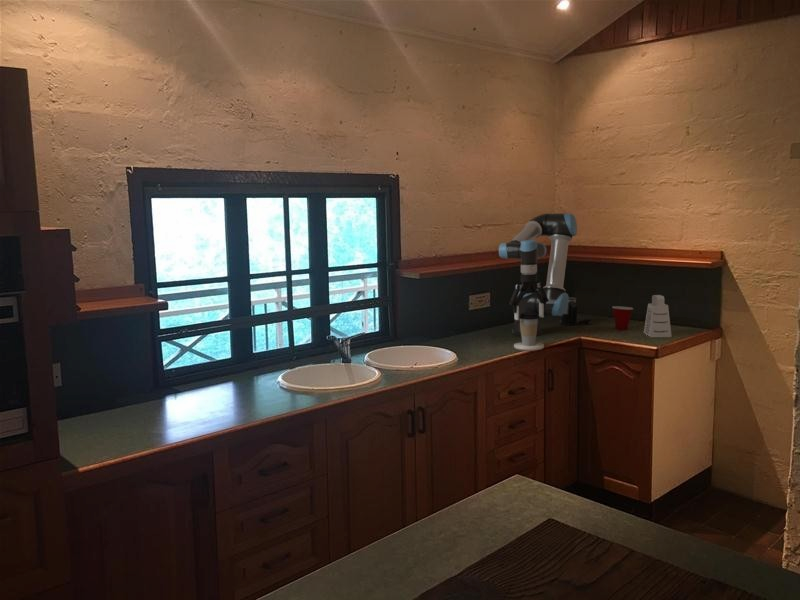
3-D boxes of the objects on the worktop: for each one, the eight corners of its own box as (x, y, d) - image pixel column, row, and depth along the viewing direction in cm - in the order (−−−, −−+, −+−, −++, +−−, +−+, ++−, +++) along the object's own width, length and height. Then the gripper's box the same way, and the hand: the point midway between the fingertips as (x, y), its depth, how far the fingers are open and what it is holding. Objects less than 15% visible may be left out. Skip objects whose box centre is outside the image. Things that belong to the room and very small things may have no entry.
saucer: (508, 348, 325) (508, 345, 324) (523, 343, 335) (523, 340, 335) (534, 351, 316) (534, 349, 315) (549, 346, 326) (549, 343, 326)
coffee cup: (524, 342, 332) (524, 311, 330) (542, 344, 326) (542, 313, 324) (515, 345, 325) (515, 314, 323) (533, 347, 319) (533, 315, 317)
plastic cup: (637, 329, 363) (637, 307, 361) (620, 331, 359) (621, 308, 357) (623, 326, 373) (623, 304, 371) (607, 328, 369) (607, 306, 367)
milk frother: (555, 323, 387) (556, 297, 385) (577, 320, 394) (577, 295, 392) (573, 327, 375) (573, 300, 373) (595, 324, 382) (595, 298, 380)
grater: (650, 337, 342) (651, 297, 339) (643, 333, 352) (644, 294, 350) (671, 336, 342) (672, 296, 339) (664, 332, 352) (665, 294, 349)
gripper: (510, 276, 313) (510, 321, 316) (556, 272, 322) (556, 316, 325) (501, 274, 319) (502, 319, 323) (546, 271, 329) (546, 314, 332)
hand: (529, 318), depth 324 cm, fingers open, 13 cm apart
